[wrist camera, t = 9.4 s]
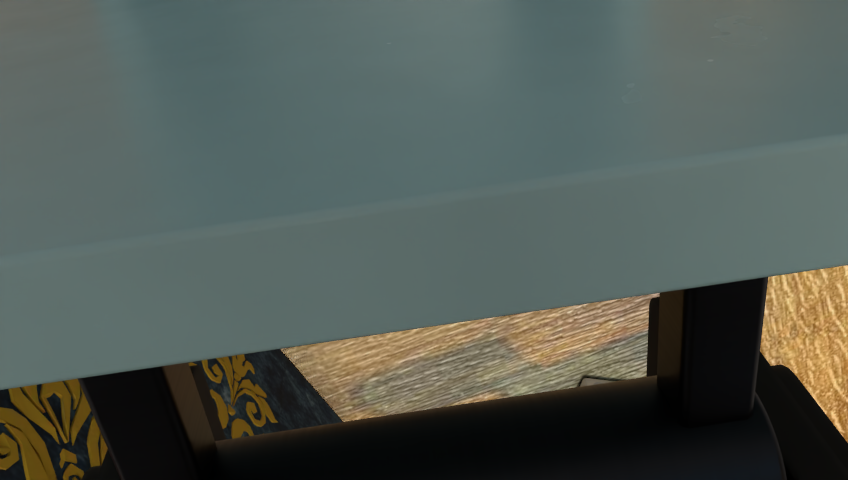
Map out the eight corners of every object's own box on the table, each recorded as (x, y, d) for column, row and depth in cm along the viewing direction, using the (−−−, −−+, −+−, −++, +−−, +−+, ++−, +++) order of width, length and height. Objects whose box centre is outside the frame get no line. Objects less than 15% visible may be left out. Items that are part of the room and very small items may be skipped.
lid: (-881, 386, 4) (-279, 883, 6) (1633, 21, 4) (1236, 648, 6) (69, -51, 16) (142, 172, 19) (656, -133, 17) (650, 99, 19)
